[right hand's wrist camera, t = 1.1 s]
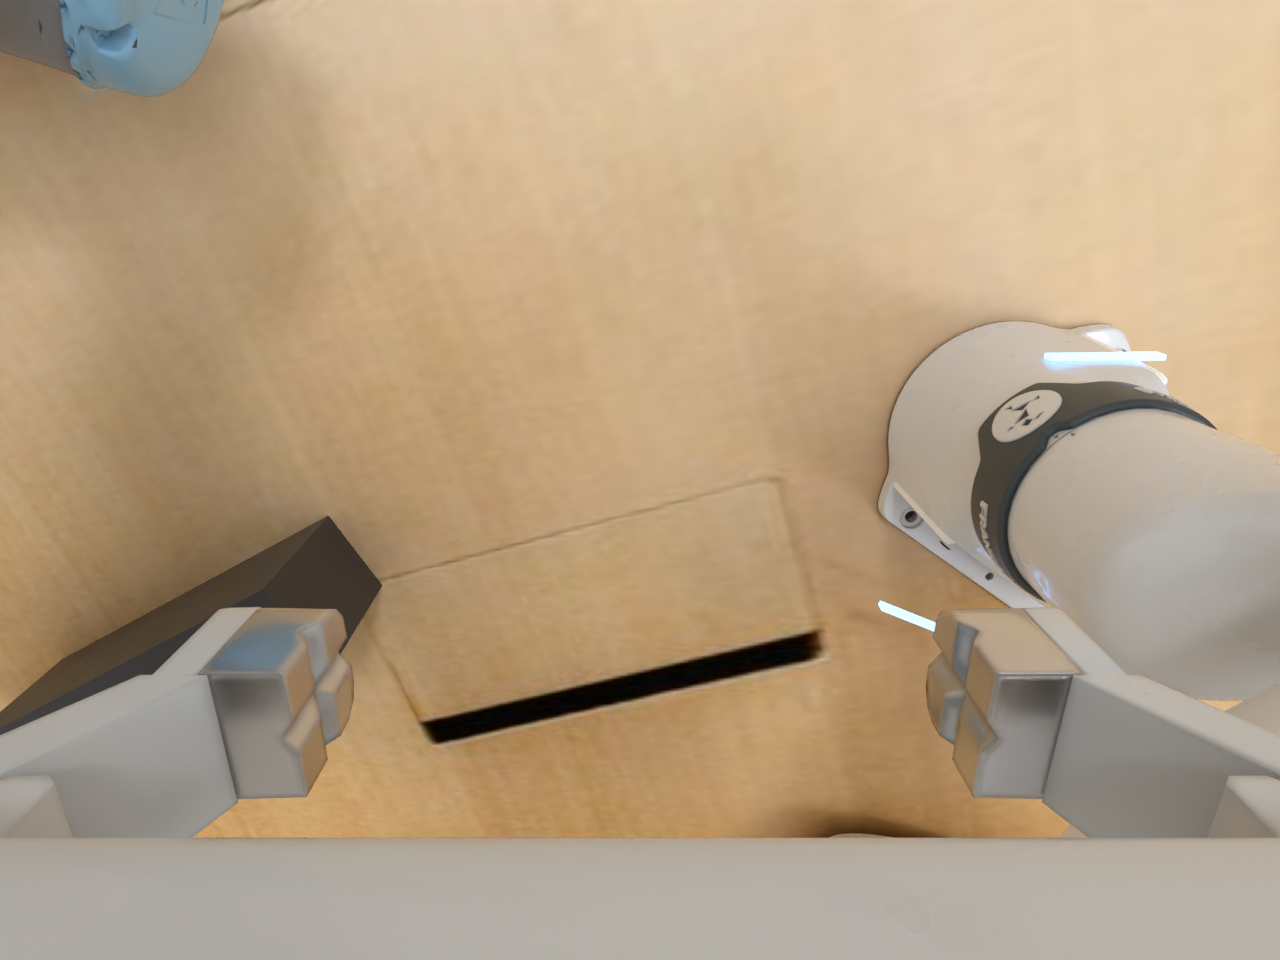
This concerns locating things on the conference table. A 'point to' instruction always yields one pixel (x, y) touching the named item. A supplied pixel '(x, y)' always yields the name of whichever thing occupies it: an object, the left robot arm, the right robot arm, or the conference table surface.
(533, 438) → the conference table surface
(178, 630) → the box
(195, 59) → the left robot arm
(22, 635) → the conference table surface
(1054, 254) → the conference table surface
